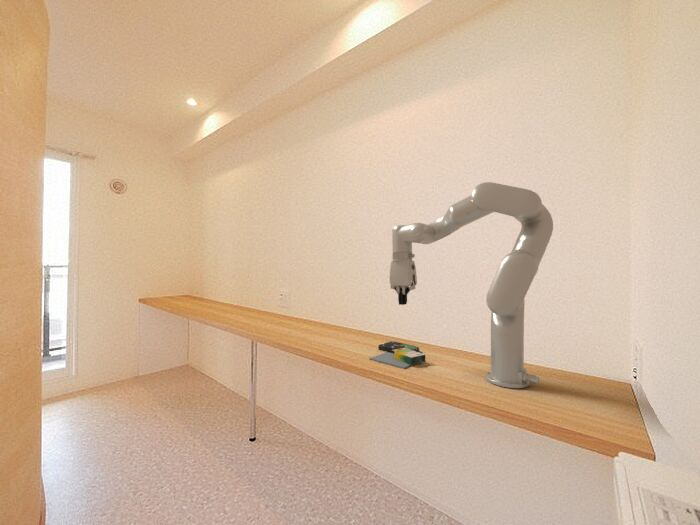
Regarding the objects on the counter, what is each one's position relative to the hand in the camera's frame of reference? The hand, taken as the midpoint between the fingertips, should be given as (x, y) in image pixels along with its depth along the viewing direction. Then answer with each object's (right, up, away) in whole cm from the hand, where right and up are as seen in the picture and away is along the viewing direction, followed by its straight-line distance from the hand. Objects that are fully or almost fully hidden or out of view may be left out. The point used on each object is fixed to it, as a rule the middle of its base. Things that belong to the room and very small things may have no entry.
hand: (402, 304), depth 119 cm
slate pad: (-3, -22, +1) cm, 22 cm away
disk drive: (+1, -23, +15) cm, 27 cm away
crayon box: (+5, -20, -5) cm, 21 cm away
